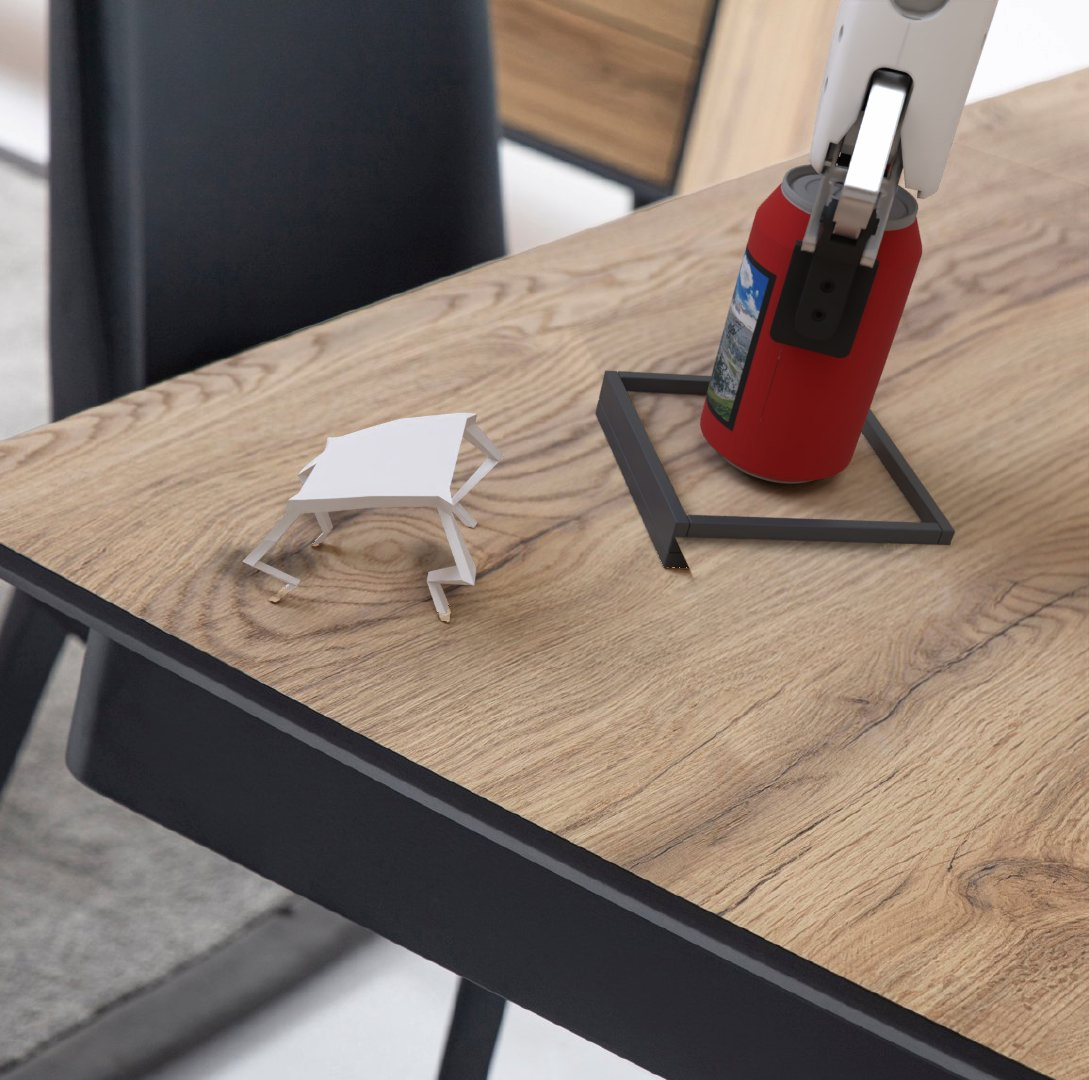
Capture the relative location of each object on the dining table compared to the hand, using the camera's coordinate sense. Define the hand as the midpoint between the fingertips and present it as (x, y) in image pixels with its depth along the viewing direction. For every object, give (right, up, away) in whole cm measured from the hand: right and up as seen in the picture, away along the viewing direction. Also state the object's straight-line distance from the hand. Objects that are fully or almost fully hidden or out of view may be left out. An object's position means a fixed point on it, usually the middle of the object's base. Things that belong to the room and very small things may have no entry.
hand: (817, 305), depth 67 cm
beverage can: (-1, -6, +4) cm, 7 cm away
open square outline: (-1, -7, +5) cm, 9 cm away
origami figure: (-17, -11, -3) cm, 20 cm away
